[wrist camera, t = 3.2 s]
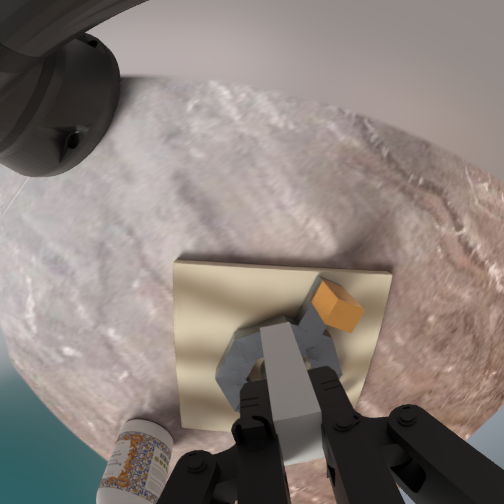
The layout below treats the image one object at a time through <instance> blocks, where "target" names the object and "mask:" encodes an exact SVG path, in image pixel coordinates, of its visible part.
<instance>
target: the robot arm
mask: <svg viewBox="0 0 504 504" xmlns="http://www.w3.org/2000/svg"><path fill="white" fill-rule="evenodd" d="M146 1H148V0H0V163H1V164H3V165H5V166H6V167H8V168H10V169H12V170H13V171H15V172H17V173H19V174H21V175H25V176H29V177H50V176H55V175H59V174H61V173H64V172H66V171H68V170H70V169H71V168H73V167H74V166H76V165H77V164H78V163H80V162H81V161H82V160H83V159H84V158H85V157H86V156H87V155H88V154H89V153H90V152H91V151H92V150H93V149H94V147H95V146H96V145H97V144H98V142H99V141H100V139H101V138H102V136H103V135H104V133H105V131H106V130H107V128H108V126H109V124H110V122H111V119H112V117H113V114H114V112H115V109H116V106H117V102H118V97H119V91H120V71H119V67H118V63H117V61H116V58H115V56H114V55H113V53H112V52H111V51H110V50H109V49H108V48H107V47H106V46H105V45H104V44H103V43H102V42H101V41H100V40H99V39H98V38H96V37H94V36H92V35H90V34H87V33H85V32H86V31H88V30H90V29H91V28H93V27H95V26H97V25H98V24H100V23H102V22H104V21H106V20H107V19H109V18H111V17H113V16H115V15H117V14H119V13H121V12H123V11H125V10H127V9H129V8H132V7H134V6H136V5H139V4H141V3H143V2H146ZM260 333H261V340H262V347H263V354H264V361H265V368H266V375H267V379H265V380H259V381H254V382H248V383H244V385H243V387H242V388H241V390H240V418H238V419H237V420H236V421H235V422H234V423H233V425H232V428H231V432H232V434H233V437H234V440H235V442H236V444H235V445H234V446H232V447H231V448H230V449H228V450H225V451H223V452H220V453H217V454H214V455H212V454H211V453H209V452H207V451H203V450H194V451H191V452H188V453H186V454H185V455H183V456H182V457H181V458H180V459H179V460H178V462H177V464H176V466H175V468H174V470H173V472H172V473H171V475H170V477H169V479H168V481H167V483H166V485H165V487H164V489H163V491H162V493H161V495H160V497H159V499H158V501H157V502H156V504H235V501H236V500H238V504H291V499H290V493H289V487H288V481H287V476H286V472H285V465H291V464H296V463H301V462H306V461H310V460H315V459H319V458H323V457H324V455H325V458H326V462H327V478H330V481H331V485H332V488H333V492H334V495H335V499H336V502H337V504H405V502H404V500H403V498H402V496H401V494H400V491H399V489H398V487H397V485H398V486H399V487H400V488H401V489H402V490H403V491H404V492H405V493H406V494H407V495H408V496H409V497H410V498H411V499H412V500H413V501H414V502H415V503H416V504H504V470H503V469H502V468H500V467H499V466H498V465H496V464H495V463H494V462H492V461H491V460H490V459H488V458H487V457H486V456H484V455H483V454H481V453H480V452H479V451H477V450H476V449H475V448H473V447H472V446H471V445H470V444H468V443H467V442H466V441H464V440H463V439H462V438H460V437H459V436H458V435H456V434H455V433H454V432H452V431H451V430H450V429H448V428H447V427H446V426H445V425H443V424H442V423H441V422H439V421H438V420H437V419H435V418H434V417H433V416H432V415H430V414H429V413H428V412H426V411H425V410H424V409H422V408H421V407H419V406H417V405H412V404H407V405H401V406H399V407H397V408H395V409H394V410H393V411H392V412H391V413H390V415H389V417H379V418H369V417H364V416H362V415H361V414H360V413H358V412H356V411H355V410H354V408H353V406H352V404H351V402H350V400H349V398H348V396H347V394H346V392H345V390H344V388H343V386H342V384H341V382H340V380H339V378H338V376H337V374H336V372H335V370H333V369H332V368H330V367H329V366H327V365H326V366H322V367H318V368H314V369H310V370H306V367H305V364H304V361H303V359H302V356H301V353H300V350H299V347H298V345H297V342H296V339H295V336H294V334H293V331H292V328H291V325H290V323H289V322H286V323H281V324H276V325H271V326H266V327H261V328H260ZM395 482H396V483H397V485H396V483H395Z"/></svg>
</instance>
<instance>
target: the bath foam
mask: <svg viewBox="0 0 504 504" xmlns="http://www.w3.org/2000/svg"><path fill="white" fill-rule="evenodd" d="M172 448H173V439H172V437H171V435H170V434H169V433H168V432H167V431H166V430H165V429H164V428H163V427H161V426H159V425H158V424H155V423H153V422H150V421H147V420H141V419H135V420H130V421H128V422H126V423H125V424H124V426H123V427H122V430H121V432H120V435H119V437H118V439H117V442H116V444H115V447H114V449H113V452H112V454H111V457H110V459H109V462H108V464H107V467H106V470H105V472H104V475H103V477H102V480H101V483H100V486H99V488H98V492H97V497H96V498H97V499H96V504H156V502H157V501H158V499H159V497H160V495H161V493H162V491H163V489H164V487H165V484H166V478H167V473H168V468H169V463H170V459H171V453H172Z"/></svg>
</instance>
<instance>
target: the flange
mask: <svg viewBox="0 0 504 504" xmlns="http://www.w3.org/2000/svg"><path fill="white" fill-rule="evenodd" d="M364 311H365V309H364V308H363V307H362V306H361V305H360V304H359V303H358V302H357V301H356V300H355V299H354V298H353V297H352V296H351V295H350V294H349V293H348V292H347V291H346V290H345V289H344V288H343V287H342V286H341V285H340V284H338V283H336V282H333V281H331V280H329V279H326V278H324V277H322V276H320V275H317V277H316V279H315V281H314V283H313V285H312V287H311V289H310V291H309V292H308V294H307V296H306V298H305V300H304V302H303V304H302V306H301V308H300V309H299V311H298V313H297V315H296V317H295V318H293V317H291V316H288V315H285V314H282V315H279V316H277V317H274V318H271V319H269V320H266V321H263V322H260V323H257V324H255V325H252V326H249V327H246V328H243V329H240V330H237V331H235V332H234V334H233V336H232V338H231V340H230V342H229V344H228V346H227V348H226V350H225V352H224V354H223V356H222V358H221V360H220V362H219V364H218V366H217V368H216V373H215V380H216V382H217V383H218V385H219V387H220V388H221V390H222V392H223V393H224V395H225V397H226V398H227V400H228V402H229V403H230V405H231V407H232V408H233V410H234V411H235V412H239V413H240V390H241V388H242V387H243V385H244V383H248V382H251V380H250V378H249V376H248V375H249V373H250V371H251V369H252V368H253V366H254V364H255V362H256V361H257V359H260V358H263V357H264V354H263V347H262V340H261V333H260V328H261V327H266V326H271V325H276V324H281V323H286V322H289V323H290V325H291V328H292V331H293V334H294V336H295V339H296V342H297V345H298V347H299V350H300V353H301V356H303V357H306V358H308V360H309V363H310V365H311V369H314V368H318V367H322V366H326V365H327V366H329V367H330V368H332V369H333V370H335V372H336V374H337V376H338V378H339V379H340V378H341V376H342V375H343V374H342V371H341V367H340V363H339V360H338V356H337V353H336V349H335V346H334V342H333V339H332V337H331V335H330V333H329V332H328V330H326V327H327V325H329V326H332V327H335V328H338V329H340V330H343V331H346V332H349V333H352V332H353V330H354V328H355V327H356V325H357V323H358V322H359V320H360V318H361V316H362V315H363V313H364Z"/></svg>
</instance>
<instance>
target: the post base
mask: <svg viewBox="0 0 504 504" xmlns="http://www.w3.org/2000/svg"><path fill="white" fill-rule="evenodd" d="M317 275H320V276H322V277H324V278H326V279H329V280H331V281H333V282H336V283H338V284H340V285H341V286H342V287H343V288H344V289H345V290H346V291H347V292H348V293H349V294H350V295H351V296H352V297H353V298H354V299H355V300H356V301H357V302H358V303H359V304H360V305H361V306H362V307H363V308H364V309H365V311H364V313H363V315H362V316H361V318H360V320H359V322H358V323H357V325H356V327H355V328H354V330H353V332H352V333H349V332H346V331H343V330H340V329H338V328H335V327H332V326H329V325H327V327H326V330H328V332H329V333H330V335H331V337H332V339H333V342H334V346H335V349H336V353H337V356H338V360H339V363H340V367H341V371H342V374H343V375H342V376H341V378H340V379H339V380H340V382H341V384H342V386H343V388H344V390H345V392H346V394H347V396H348V398H349V400H350V402H351V404H352V406H353V408H354V409H355V407H356V404H357V401H358V399H359V396H360V393H361V390H362V387H363V384H364V381H365V378H366V375H367V372H368V369H369V366H370V363H371V360H372V356H373V353H374V350H375V346H376V343H377V339H378V335H379V332H380V328H381V324H382V320H383V316H384V312H385V308H386V303H387V299H388V294H389V290H390V285H391V280H392V274H390V273H389V272H387V271H370V270H349V269H329V268H310V267H291V266H273V265H256V264H239V263H223V262H207V261H192V260H177V259H176V260H175V261H174V262H173V305H174V334H175V353H176V369H177V382H178V394H179V404H180V414H181V423H182V428H188V429H198V430H210V431H225V432H231V428H232V425H233V423H234V422H235V421H236V420H237V419H238V418H240V413H239V412H235V411H234V410H233V408H232V407H231V405H230V403H229V402H228V400H227V398H226V397H225V395H224V393H223V392H222V390H221V388H220V387H219V385H218V383H217V382H216V380H215V373H216V368H217V366H218V364H219V362H220V360H221V358H222V356H223V354H224V352H225V350H226V348H227V346H228V344H229V342H230V340H231V338H232V336H233V334H234V332H235V331H237V330H240V329H243V328H246V327H249V326H252V325H255V324H257V323H260V322H263V321H266V320H269V319H271V318H274V317H277V316H279V315H282V314H285V315H288V316H291V317H293V318H295V317H296V315H297V313H298V311H299V309H300V308H301V306H302V304H303V302H304V300H305V298H306V296H307V294H308V292H309V291H310V289H311V287H312V285H313V283H314V281H315V279H316V277H317ZM302 359H303V361H304V364H305V367H306V370H310V369H311V365H310V363H309V360H308V358H306V357H303V356H302ZM248 376H249V378H250V380H251V382H254V381H259V380H265V379H267V375H266V368H265V361H264V357H263V358H260V359H257V361H256V362H255V364H254V366H253V368H252V369H251V371H250V373H249V375H248Z"/></svg>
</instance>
